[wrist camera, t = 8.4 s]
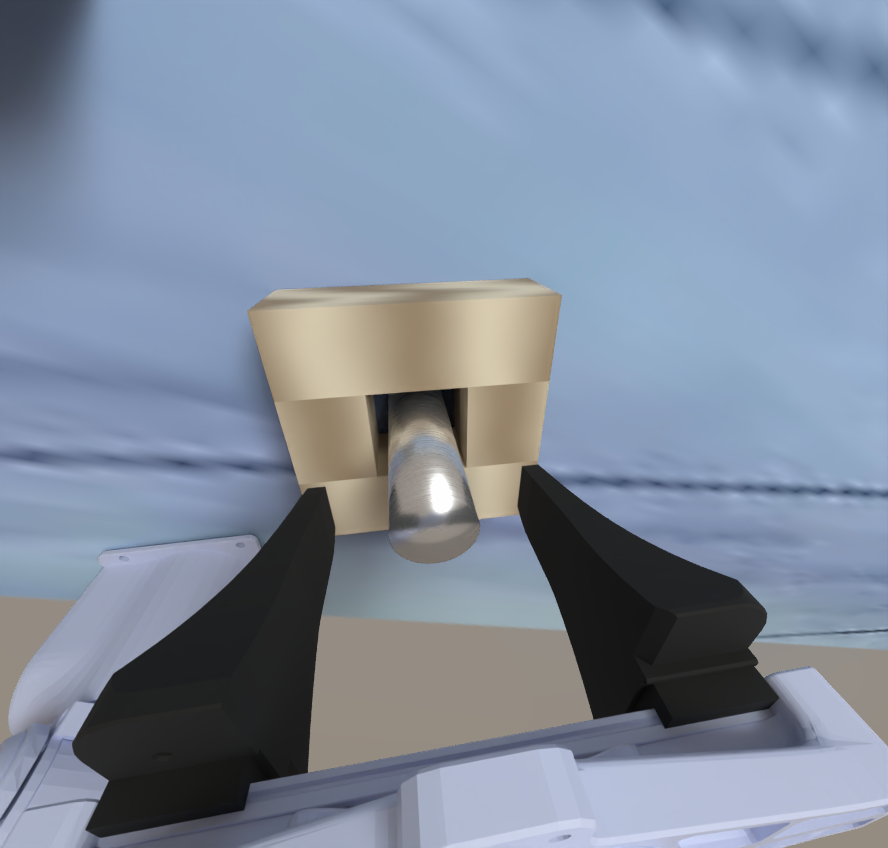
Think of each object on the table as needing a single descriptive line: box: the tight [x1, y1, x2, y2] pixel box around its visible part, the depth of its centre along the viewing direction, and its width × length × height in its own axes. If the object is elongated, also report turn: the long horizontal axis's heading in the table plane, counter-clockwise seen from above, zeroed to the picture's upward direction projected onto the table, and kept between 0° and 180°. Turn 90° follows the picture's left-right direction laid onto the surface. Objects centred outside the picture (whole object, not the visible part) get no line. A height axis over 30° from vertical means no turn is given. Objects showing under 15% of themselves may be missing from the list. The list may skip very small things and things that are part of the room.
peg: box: [388, 389, 480, 564], centre depth 16 cm, size 3×3×10 cm
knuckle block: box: [247, 278, 562, 536], centre depth 19 cm, size 12×12×4 cm
